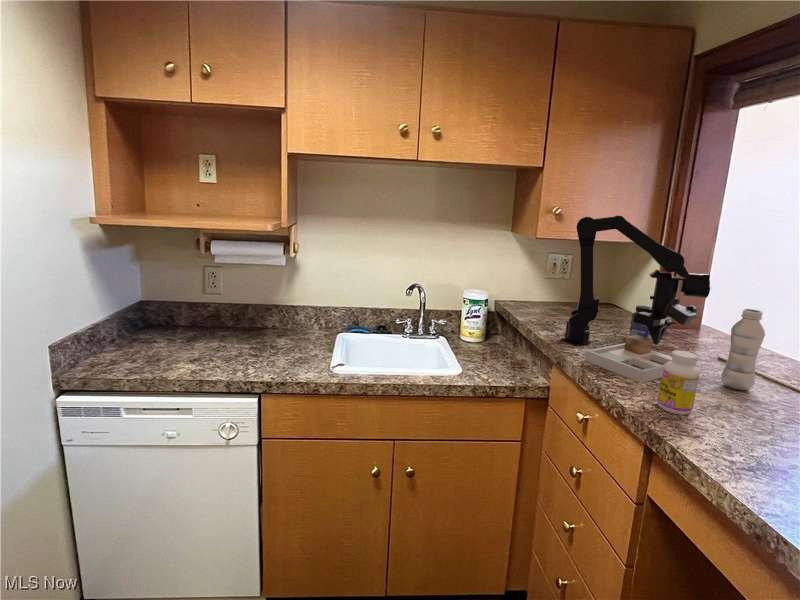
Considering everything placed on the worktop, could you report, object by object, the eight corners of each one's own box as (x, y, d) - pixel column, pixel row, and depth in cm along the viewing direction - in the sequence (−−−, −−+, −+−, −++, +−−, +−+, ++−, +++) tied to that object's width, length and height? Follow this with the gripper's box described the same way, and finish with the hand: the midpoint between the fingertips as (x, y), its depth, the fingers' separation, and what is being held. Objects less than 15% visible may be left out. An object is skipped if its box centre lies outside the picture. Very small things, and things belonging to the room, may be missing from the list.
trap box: (584, 360, 126) (586, 350, 125) (632, 350, 137) (634, 341, 136) (641, 383, 112) (643, 371, 111) (689, 369, 122) (692, 359, 122)
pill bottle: (651, 342, 146) (657, 310, 143) (631, 340, 147) (637, 308, 144) (645, 337, 152) (651, 305, 149) (626, 335, 153) (631, 304, 150)
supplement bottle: (650, 401, 101) (660, 348, 98) (677, 402, 102) (688, 348, 99) (669, 416, 94) (681, 359, 92) (698, 416, 95) (711, 359, 92)
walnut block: (624, 349, 131) (626, 336, 130) (634, 347, 133) (636, 334, 132) (640, 355, 127) (642, 341, 126) (650, 352, 129) (653, 339, 128)
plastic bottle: (754, 396, 107) (773, 315, 102) (719, 388, 110) (737, 310, 106) (750, 387, 112) (768, 310, 108) (718, 380, 116) (734, 306, 111)
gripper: (674, 302, 119) (664, 357, 123) (711, 297, 128) (700, 348, 132) (635, 293, 129) (627, 344, 132) (672, 289, 138) (663, 337, 141)
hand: (655, 344), depth 134 cm, fingers closed
